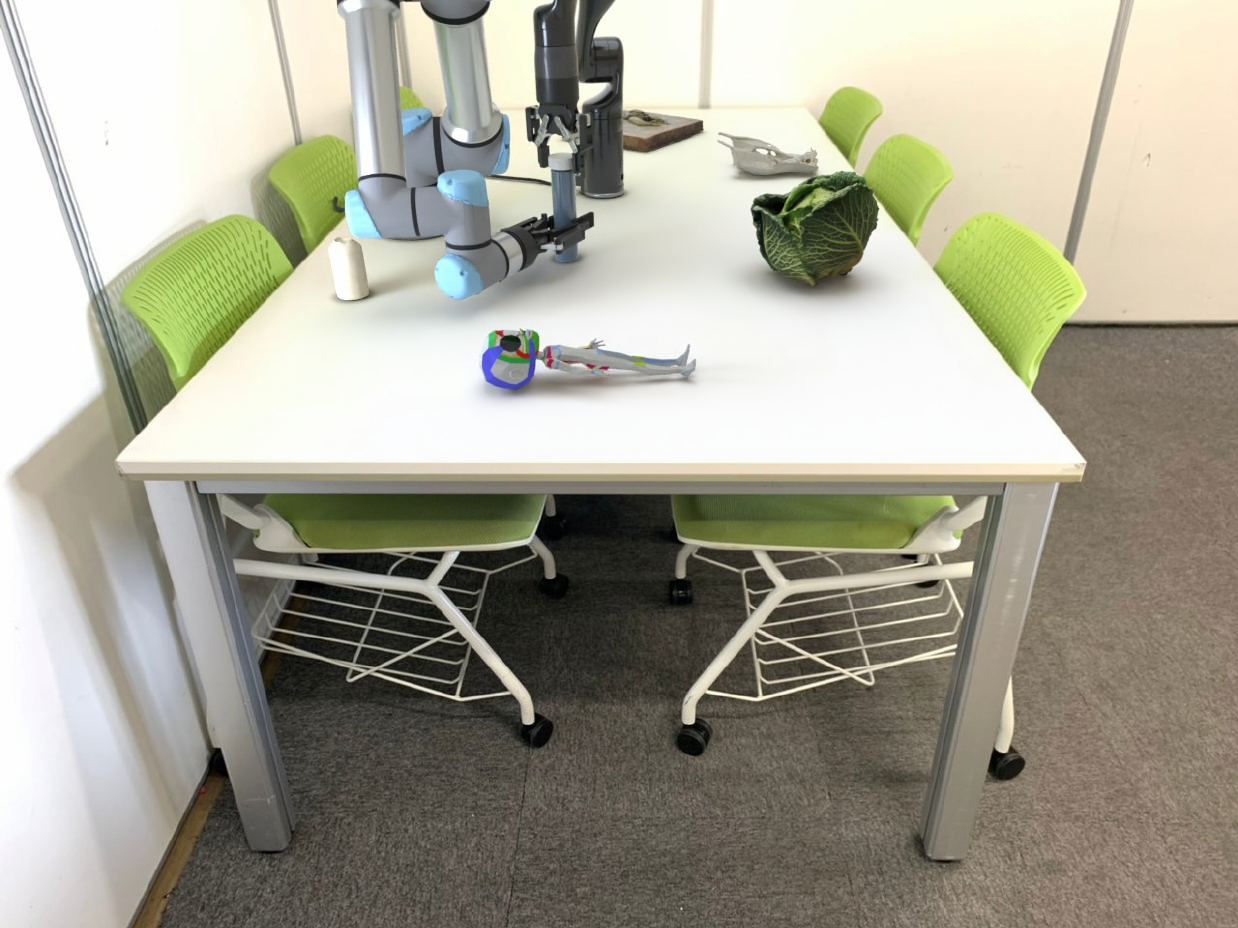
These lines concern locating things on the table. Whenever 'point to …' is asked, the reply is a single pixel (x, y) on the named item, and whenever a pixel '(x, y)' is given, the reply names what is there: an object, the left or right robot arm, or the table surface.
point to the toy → (561, 359)
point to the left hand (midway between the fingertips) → (580, 217)
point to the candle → (348, 269)
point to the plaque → (655, 129)
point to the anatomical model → (767, 157)
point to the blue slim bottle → (564, 207)
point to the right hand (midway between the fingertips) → (561, 170)
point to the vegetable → (816, 226)
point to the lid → (560, 161)
